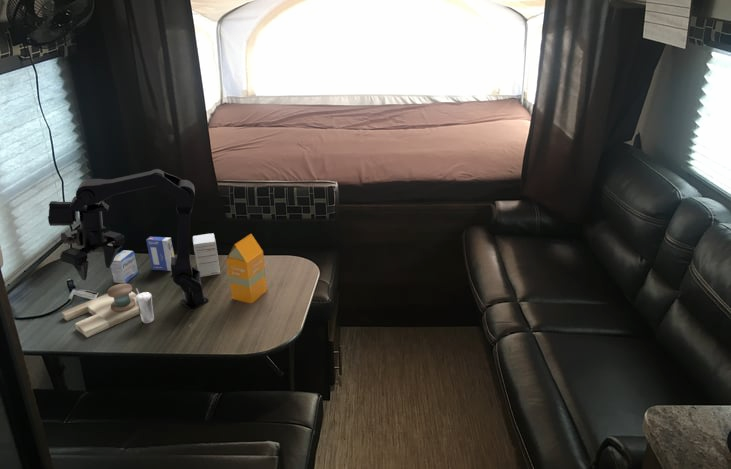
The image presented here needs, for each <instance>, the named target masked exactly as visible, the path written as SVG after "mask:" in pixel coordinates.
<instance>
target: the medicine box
mask: <svg viewBox="0 0 731 469" xmlns="http://www.w3.org/2000/svg"><path fill="white" fill-rule="evenodd" d="M135 255H136V254H135V251H133V250H129V249H128V250H125V249H124V250H121V251H120V252H118V253H117V254H116V256H115V258H114V260H113V262H112V264H111V266H110V270H111V275H112V277H113V278H112V279H113V282H114V283H116V284H128V283H129V281H130V280H132V279H133V278H134V277H135V276H136V275H137V274H139V269H138V265H137V261H136V256H135Z"/></svg>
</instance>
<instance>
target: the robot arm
mask: <svg viewBox="0 0 731 469" xmlns="http://www.w3.org/2000/svg"><path fill="white" fill-rule="evenodd" d="M152 187H156V188H158V189H159V190H161V191H162V192H164V193H165V194H166V195H168V196H169V197H171V198H172V199H173V200H174V204H175V209H176V213H177V228H176V229H177V233H176V234H177V237H176V238H177V240H176V248H177V249H176V250H177V251H176V256H174V257H171V271H170V278H171V279H172V280H173V283H174V284H176V285H177V286H179V287H180V288H181V290H182V293H183V299H181V300H180V302H179V303H181V304H182V305H184V306H185V307H187V308H188V309H191V310H193V309H195V308H197V307H198V306H201V305H203V304H205V303H207V302H209V301H210V300H209V299H208V298H207V297H206V296H204V291H203V285H202V280H201V277H200V271H198V269H197V268H195V267H193V264H192V260H191V259H192V258H191V255H190V243H191V241H190V240H191V238H190V237H191V213H192V211H193V208H194V203H195V197H196V193H195V190H196V188H195V185H194V183H192V182H191V181H190V180H188V179H181V178H180V177H178V176H175V175H173V174H170V173H167V172H165V171H163V170H162V169H159V168H154V169H152V170H149V171H148V170H147V171H145V172H139V173H134V174H130V175H125V176H121V177H120V176H119V177H116V178H112V179H111V178H109V179H106V178H105V179H104V178H87V179H84V180H82V181H81V182H80V183H79V185H78V188H77V190H76V191H75V196H74V197H73V198H72V199H71V201H56V200H51V201H49V203H48V208H49V209H48V216H47V220H48V224H49V226H50V227H55V226H57V227H61V226H63V227H65V226H67V227H69V226H74V225H75V223H78V221H79V222H80V227H78V228H76V229H75V230H72V231H70V230H68V231H64V232H61V233H60V240H61V242H62V243H63V244H64V245H65V244H66V245H67V244H68V245H72V244H76V245H77V246H79V247H82V248H76V247H69V248H68V249H65V250H63V251H61V252H60V254H59V257H60V262H63V263H67V264H69V265H72V266H73V267H74V268H75V271H76V272H77V274H78V275H79V277H80V279H81V280H82V281H86V280H87V277H88V269H89V261H88V254H91V253H93V252H95V251H98V250H99V249H101V248H102V250H103V255H104V257H103V258H104V262H105V263H104V265H105V268H106V269H111V267H110V266H111V264H112V262H113V260H114V258H115V256H116V255H117V254H118V253H119V251H120V249H121V248H122V247H123V245H124V244H125V243H126V240H125V235H123V234H122V233H119V232H115V231H112V230H109V231H107V227H106V226H104V225H103V224H104V222H103V212H108V211H109V207H110V205H109V204H107V203H106V202H105V200H107V199H108V198H111V197H112V196H115V195H116V196H117V195H121V194H126V193H129V192H134V191H138V190H143V189H148V188H152ZM106 231H107V232H106Z"/></svg>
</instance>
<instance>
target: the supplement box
mask: <svg viewBox="0 0 731 469" xmlns="http://www.w3.org/2000/svg"><path fill="white" fill-rule="evenodd" d="M192 243H193V250H194V256H195V261H196V269H197V270H198V271H200V278H202V277H208V276H216V275H219V274H221V268H220V263H219V261H220V260H219V255H218V250H217V249H218V248H217V242H216V238H215V234H214V232H213V233H205V234H198V235H193V236H192Z"/></svg>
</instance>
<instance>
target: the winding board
mask: <svg viewBox="0 0 731 469" xmlns="http://www.w3.org/2000/svg"><path fill="white" fill-rule="evenodd" d="M137 295H138V293H135V292H133V291H132V292H131V293H129V297H130V298H133V299H135V297H136V296H137ZM113 302H114V298H113V297H110V296H108V293H105V294H103V295H100V296H99V297H96V298H94V299H90V300H88V301H86V302H84V303H81V304H78V305H75V306H74V307H71V308H69V309H66V310H64V311H62V312H61V314H62V318H63V319H64V320H65V321H67V322H68V321H71V320H72V319H73V320H74V319H75V318H78V317H81V316H82V315H85V314H88V313H89V314H91V315H92V316H89V317H86V318H84V319H82V320H80V321H78V322H75V329H76V330H77V331H78V332H79V333H81V334H82V335H84V336H85V337H86V338H89V337H92V336H94V335H96V334H98V333H100V332H102V331H105V330H107V329H109V328H111V327H113V326H116V325H118V324H120V323H122V322H125V321H127V320H129V319H132V318H133V317H135V316H138V315H140V312H139V309H138V306H137V303H136V304H135V306H134V307H133V308H131V309H129V310H127V311H123V312H115V311H113V310H112V309H111V304H112V303H113ZM135 302H136V300H135Z"/></svg>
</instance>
